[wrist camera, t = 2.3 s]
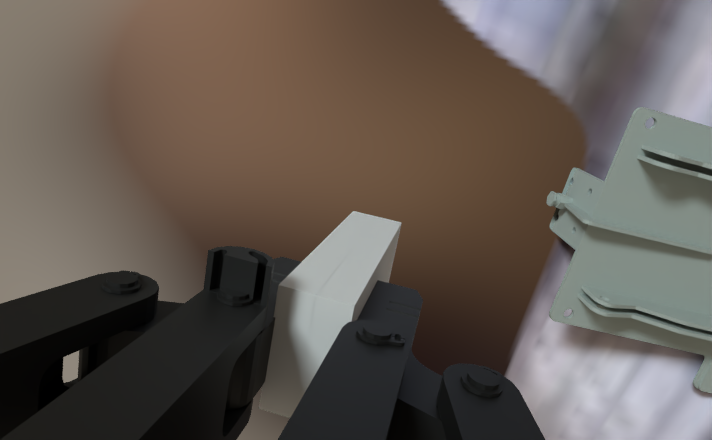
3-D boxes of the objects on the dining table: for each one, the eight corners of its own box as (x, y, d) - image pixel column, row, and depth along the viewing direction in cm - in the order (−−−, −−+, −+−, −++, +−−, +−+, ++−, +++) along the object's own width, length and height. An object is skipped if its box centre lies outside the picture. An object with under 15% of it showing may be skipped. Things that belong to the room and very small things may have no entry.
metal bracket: (532, 369, 26) (664, 57, 22) (495, 312, 32) (596, 54, 28) (786, 424, 28) (952, 146, 24) (710, 361, 34) (835, 127, 30)
